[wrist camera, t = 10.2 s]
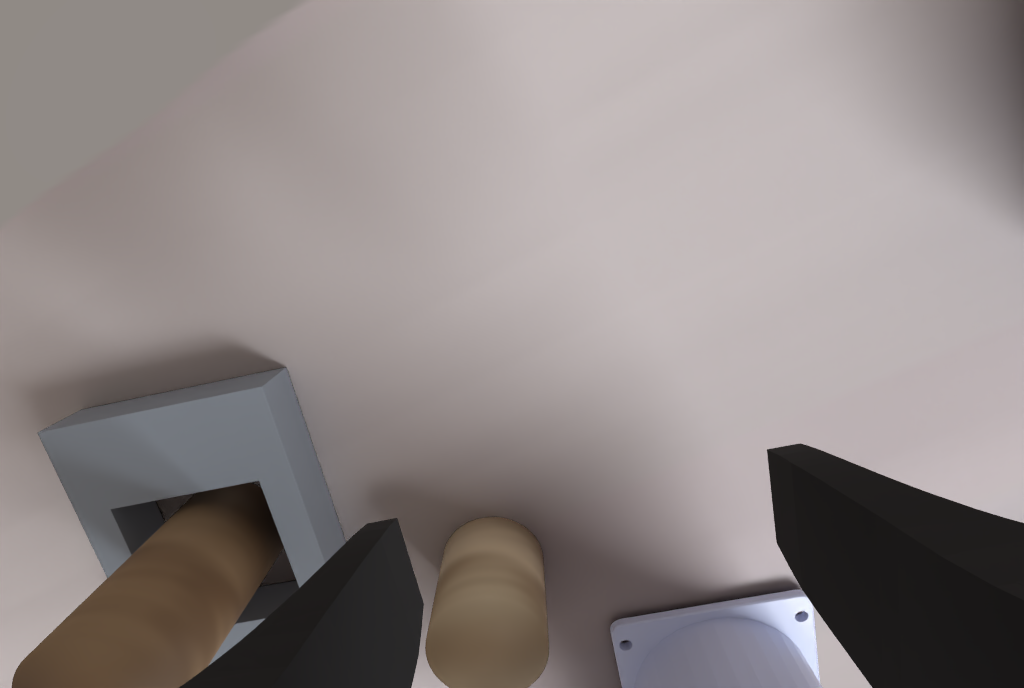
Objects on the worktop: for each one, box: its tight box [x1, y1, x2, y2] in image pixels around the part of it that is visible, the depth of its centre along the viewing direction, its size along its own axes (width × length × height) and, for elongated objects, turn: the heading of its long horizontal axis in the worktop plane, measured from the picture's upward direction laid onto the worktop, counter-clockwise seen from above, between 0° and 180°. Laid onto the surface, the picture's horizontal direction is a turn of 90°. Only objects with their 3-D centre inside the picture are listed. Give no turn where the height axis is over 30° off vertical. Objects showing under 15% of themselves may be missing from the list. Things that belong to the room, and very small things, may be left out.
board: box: [38, 367, 346, 666], centre depth 22 cm, size 12×8×2 cm, turn 12°
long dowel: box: [12, 483, 284, 688], centre depth 19 cm, size 4×4×8 cm
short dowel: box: [425, 517, 549, 688], centre depth 21 cm, size 4×4×4 cm
